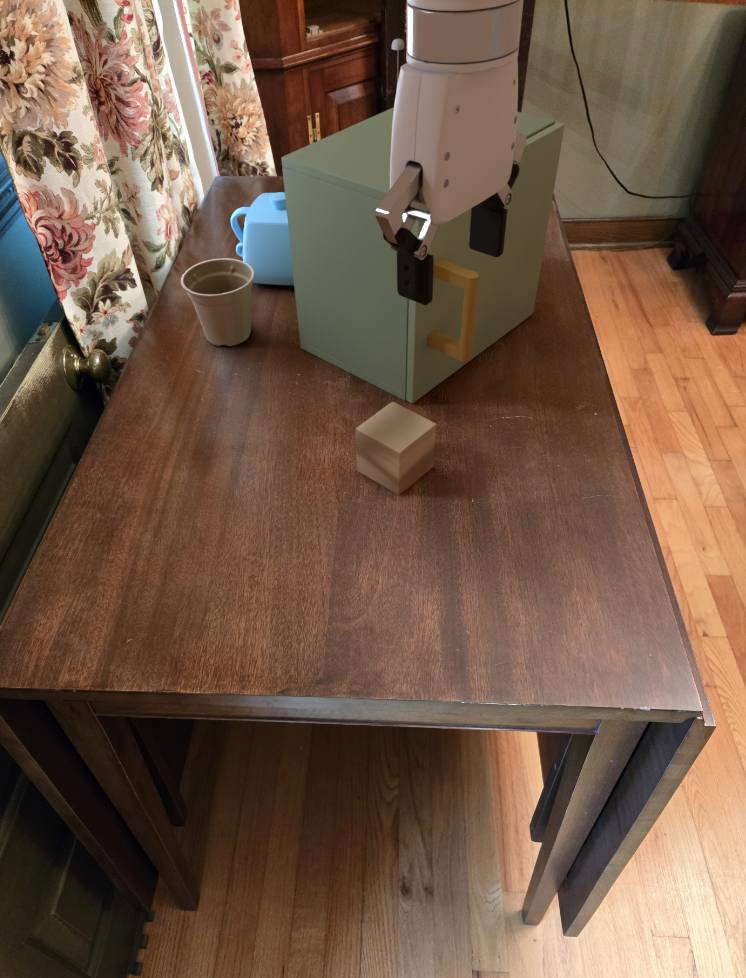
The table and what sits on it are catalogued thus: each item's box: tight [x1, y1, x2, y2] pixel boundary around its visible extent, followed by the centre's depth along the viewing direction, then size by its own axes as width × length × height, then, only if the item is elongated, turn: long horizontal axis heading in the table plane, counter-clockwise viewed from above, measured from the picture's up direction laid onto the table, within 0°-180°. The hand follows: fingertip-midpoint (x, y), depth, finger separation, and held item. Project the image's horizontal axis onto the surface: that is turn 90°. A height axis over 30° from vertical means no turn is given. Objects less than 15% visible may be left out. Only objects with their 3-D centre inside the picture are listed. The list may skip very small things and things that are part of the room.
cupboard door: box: [406, 122, 566, 404], centre depth 83 cm, size 6×26×24 cm, turn 137°
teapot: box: [230, 191, 294, 286], centre depth 106 cm, size 12×18×12 cm
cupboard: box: [281, 107, 556, 402], centre depth 89 cm, size 18×26×24 cm
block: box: [355, 401, 437, 496], centre depth 78 cm, size 6×6×6 cm
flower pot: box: [180, 257, 254, 347], centre depth 96 cm, size 9×9×9 cm
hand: (451, 274), depth 61 cm, fingers open, 9 cm apart
